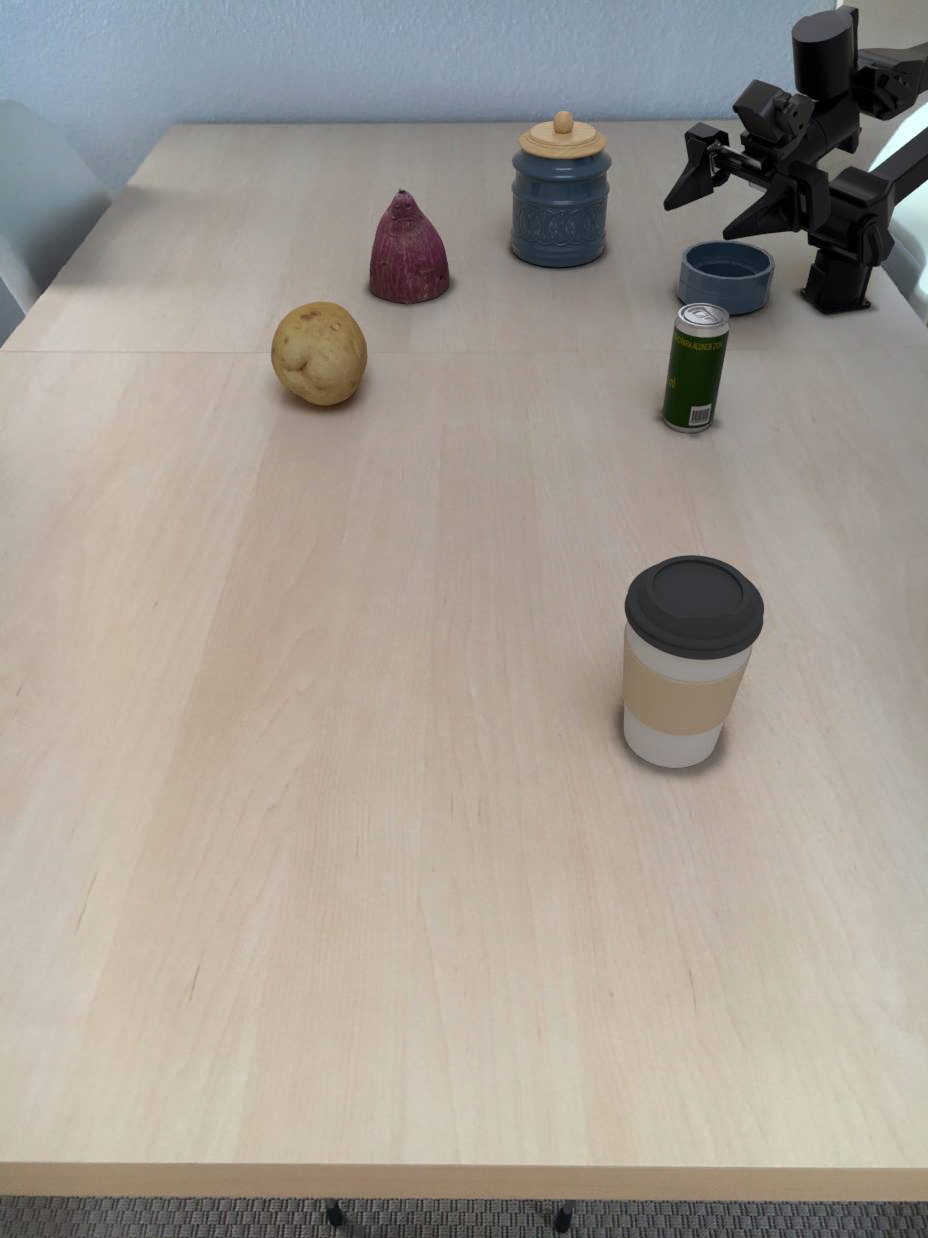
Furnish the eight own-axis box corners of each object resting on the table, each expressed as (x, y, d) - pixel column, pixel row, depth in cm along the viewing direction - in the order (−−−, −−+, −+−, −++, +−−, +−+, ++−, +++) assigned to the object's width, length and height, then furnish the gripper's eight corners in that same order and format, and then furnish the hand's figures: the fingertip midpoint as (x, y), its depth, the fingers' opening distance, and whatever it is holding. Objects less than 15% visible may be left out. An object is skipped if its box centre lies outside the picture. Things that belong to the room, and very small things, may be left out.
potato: (374, 362, 115) (366, 279, 108) (366, 421, 106) (358, 335, 99) (286, 364, 115) (273, 281, 108) (271, 423, 106) (256, 337, 99)
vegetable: (438, 327, 128) (443, 228, 115) (360, 311, 128) (356, 211, 115) (456, 273, 133) (463, 173, 120) (382, 258, 134) (380, 157, 121)
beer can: (723, 426, 104) (743, 319, 96) (680, 439, 102) (697, 332, 94) (693, 402, 107) (709, 297, 99) (651, 414, 106) (664, 309, 98)
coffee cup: (599, 692, 77) (615, 542, 67) (713, 683, 78) (747, 533, 67) (622, 785, 71) (644, 636, 60) (746, 775, 71) (790, 625, 61)
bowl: (741, 273, 130) (748, 235, 127) (783, 310, 122) (791, 271, 119) (662, 284, 128) (667, 246, 125) (699, 323, 120) (705, 284, 117)
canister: (496, 261, 134) (497, 121, 122) (528, 224, 143) (532, 91, 131) (589, 275, 130) (599, 133, 118) (616, 237, 139) (628, 100, 127)
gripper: (735, 41, 104) (621, 125, 103) (874, 84, 93) (748, 180, 91) (746, 138, 113) (641, 216, 112) (874, 188, 101) (759, 277, 100)
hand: (693, 220), depth 103 cm, fingers open, 9 cm apart
